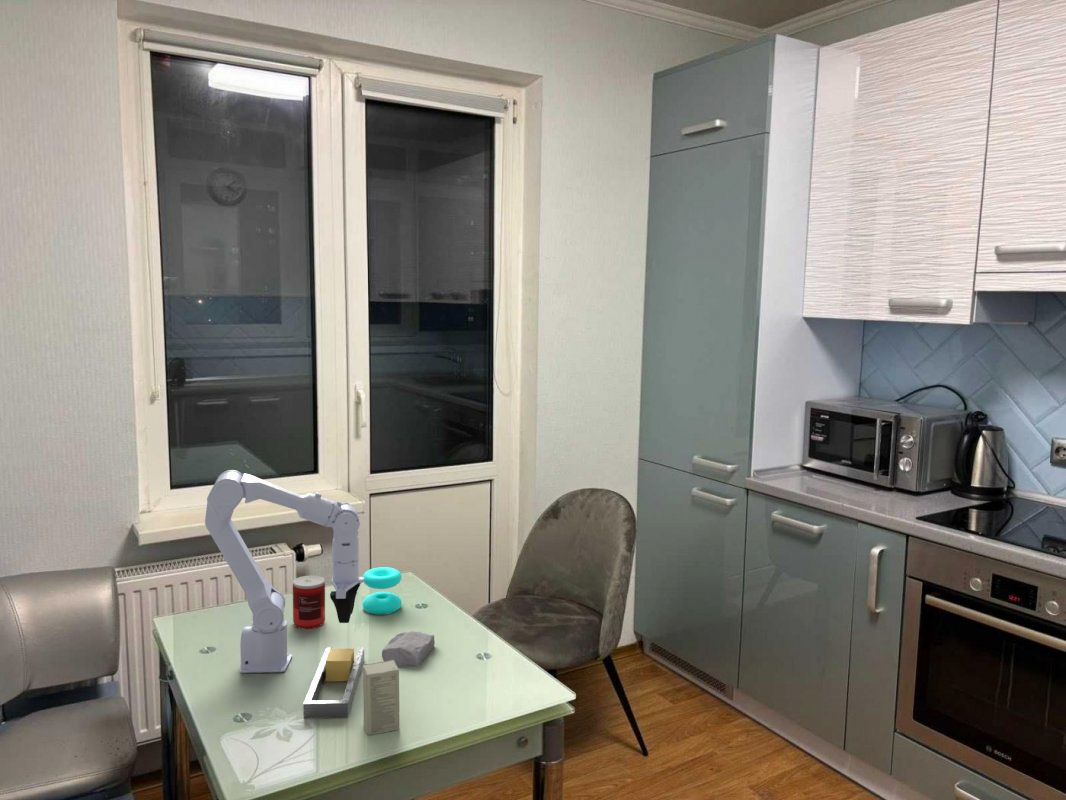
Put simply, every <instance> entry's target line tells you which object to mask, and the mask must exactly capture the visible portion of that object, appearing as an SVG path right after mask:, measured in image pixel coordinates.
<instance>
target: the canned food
mask: <svg viewBox="0 0 1066 800" xmlns="http://www.w3.org/2000/svg"><path fill="white" fill-rule="evenodd" d="M292 618H293V619H292V621H293V624H294V626H295V627H296V628H299V629H302V628H303V629H304V630H309V629H310V630H311V629H316V628H319V627H321V626H322V625H324V623H325V621H326V620H325V619H326V580H325V578H324V577H323V576H319V575H314V574H313V575H303V576H299V577H297V578H294V579H293V581H292Z"/></svg>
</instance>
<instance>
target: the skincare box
mask: <svg viewBox="0 0 1066 800" xmlns="http://www.w3.org/2000/svg"><path fill="white" fill-rule="evenodd" d="M398 666H399V665H396V663H395V661H394V660H390V661H384V660H383V661H379V662H375V663H374V662H373V663H368V664H363V666H362V677H363V678H362V679H363V680H362V682H363V683H362V685H363V725H364V728H365V731H366V734H367V736H372V735H377V734H383V733H387V732H391V731H397V730H400V727H401V725H400V721H401V720H400V669H399V667H398Z"/></svg>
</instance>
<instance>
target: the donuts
mask: <svg viewBox="0 0 1066 800" xmlns="http://www.w3.org/2000/svg"><path fill="white" fill-rule="evenodd" d="M362 577H364V582H363V583H364V585H365V586H367V587H368V588H371V589H375V590H387V589H390V588H393V587H396V586H397V585H398V584H400V582H401V581H402V574H401V572H400V571H399V570H398V569H396V568H393V567H390V566H389V567H386V566H380V567H374V568H370V569H368V570H366V571H365V572H364V573H363V575H362ZM401 599H402V598H400V596H399V595H397V594H396V593H393V592H392V591H391V592H389V591H377V592H373V593H371V594H369V595H366V597H365V598H364V599H363V601H362V608H363V610H364V611H365V612H367V613H370V614H372V615H389V614H392V613H395V612H396V611H398V610H399V609H401V606H402V600H401Z"/></svg>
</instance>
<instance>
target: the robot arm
mask: <svg viewBox="0 0 1066 800" xmlns="http://www.w3.org/2000/svg"><path fill="white" fill-rule="evenodd" d="M243 499H244V500H245V501H244V503H245V504H248V503H251V502H254V501H259V500H262V501H266V502H268V503H272V504H274V505H275V504H276V505H279V506H282V507H285V508H288V509H292V510H295V511H296V513H297V515H298V517H299V518H301V519H303V520H307V521H309V522H311V523H315V524H317V525H320V526H323V527H325V528H332V530H333V538H332V540H331V541H332V542H331V543H332V544H331V545H332V546H331V547H332V549H331V550H332V551H331V553H332V554H331V555H332V556H331V557H332V559H331V560H332V561H331V563H332V571H331V572H332V577H331V584H332V586H333V588H334V589H335V590H331V591H330V594H329V598H330V600H331V602H332V603H333V604H334V608H335V610H336V615H337V620H338V622H339V624H349V623H350V619H351V615H352V614H353V612H354V608H355V602H356V601H355V600H356V596H357V595H358V590H359V589H360V587H361V583H364V577H363V576H359V575H360V574H359V573H360V569H359V568H360V564H359V563H360V560H359V559H360V558H359V557H360V556H359V555H360V554H359V553H360V550H359V549H360V545H359V542H360V539H359V538H358V537H359V529H360V526H361V522H360V519H359V518H360V517H359V514H358V511H357V509H356V508H355V507H354V506H353V505H351V504H350V503H349V502H342V501H341V500H337V501H334V500H331V499H329V498H326V497H323V496H322V493H321V492H318V491H316V492H315V493H312V492H308V493H306V494H303V495H301V494H300V493H299V494H298V493H296V492H294V491H291V490H288V489H286V488H284V487H281V486H279V485H277V484H274V483H272V482H269V481H268V480H264V479H262V478H259V477H257V476H255V475H252V474H249V473H242V472H240V471H238V470H236V469H235V470H234V469H228V470H226V471H223V472H222V473H220V474H219V475H218V477H217V478H216V480H215V482H214V483H213V486H212V487H211V490H210V491H209V494H208V495H207V498H206V501H207V502H206V511H205V517H204V518H205V519H204V524H205V527H206V530H207V531H208V532H209V534H210V536H211V537H212V540H213V541H214V543H215V544H216V546H217V547H218V550H219V551H220V553H221V555H222V556H223V558H224V560H225V562H226V563H227V565H228V566H229V568H230V570H231V572H232V573H233V575H234V577H235V578H236V580H237V582H238V583H239V585H240V587H241V589H242V590H243V592H244V594H245V596H246V600H247V604H248V607H249V609H250V611H251V613H252V625H246V626H245V625H244V627H243V628H242V632H241V635H240V642H239V643H240V644H239V645H240V670H239V672H240V673H243V674H247V673H248V674H249V673H284V672H286V670H287V668H288V667H289V664H290V662H291V660H292V658H293V654H292V653H291V654H290V653H288V627H287V626H288V621H287V620H286V619H285V618H284V617H285V615H284V614H285V613H284V610H285V606H286V599H285V597H284V595H283V594H282V593H281V592H280V591H278V590H277V589H276V588H274V587H273V585H272V583H271V582H270V581H269V580H268V579H267V578H266V577H265V575H264V574H263V572H262V570H261V568H260V567H259V565H258V563H257V562H256V560H255V559H254V557H253V555H252V553H251V551H250V550H249V547H248V546H247V545H246V543H245V541H244V540H243V537H242V536H241V534H240V532H239V531H238V529H237V527H236V525H235V523H234V522H233V520H232V516H233V513H234V511H235V509H236V508H237V507H238V505H239V504H240V503H241V502H242V500H243Z"/></svg>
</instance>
